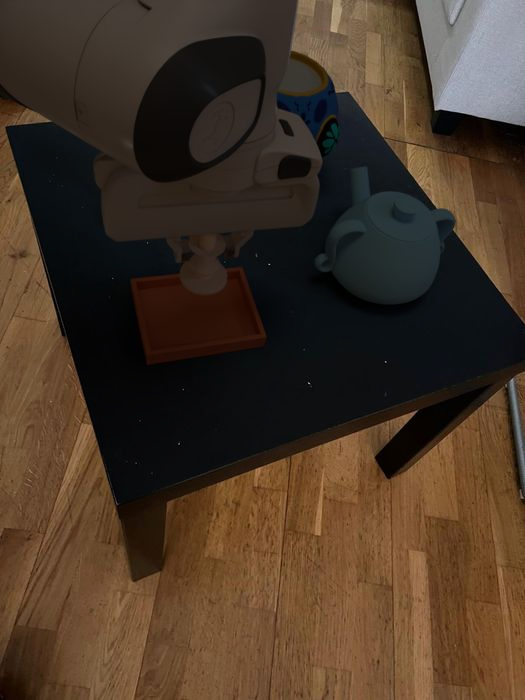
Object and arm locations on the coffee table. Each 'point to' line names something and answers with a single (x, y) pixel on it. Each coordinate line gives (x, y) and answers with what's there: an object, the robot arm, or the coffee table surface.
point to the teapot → (385, 244)
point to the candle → (204, 265)
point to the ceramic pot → (311, 100)
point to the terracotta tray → (195, 318)
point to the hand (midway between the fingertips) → (206, 255)
